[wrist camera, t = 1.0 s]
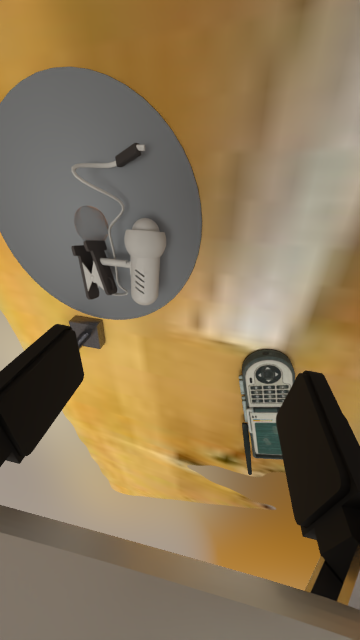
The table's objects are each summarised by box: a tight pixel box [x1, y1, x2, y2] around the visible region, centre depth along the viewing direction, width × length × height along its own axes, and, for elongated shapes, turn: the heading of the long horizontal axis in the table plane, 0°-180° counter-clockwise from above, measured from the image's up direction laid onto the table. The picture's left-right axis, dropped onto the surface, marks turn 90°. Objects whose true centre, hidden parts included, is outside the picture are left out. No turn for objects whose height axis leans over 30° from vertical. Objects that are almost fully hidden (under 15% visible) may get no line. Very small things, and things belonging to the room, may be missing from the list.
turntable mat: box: [0, 67, 202, 320], centre depth 31 cm, size 30×30×1 cm
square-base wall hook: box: [69, 316, 105, 349], centre depth 35 cm, size 6×5×15 cm
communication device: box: [239, 350, 295, 475], centre depth 39 cm, size 12×24×9 cm, turn 14°
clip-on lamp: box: [71, 143, 166, 305], centre depth 28 cm, size 12×6×18 cm
